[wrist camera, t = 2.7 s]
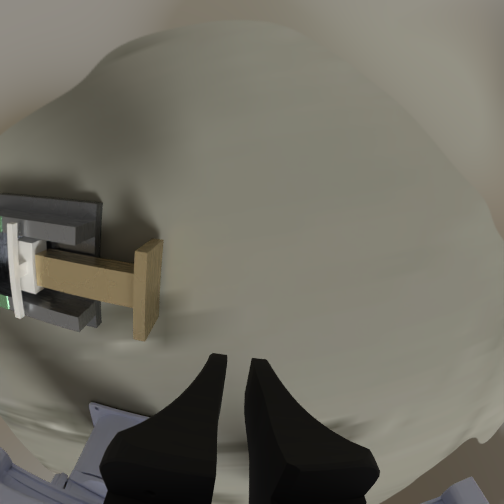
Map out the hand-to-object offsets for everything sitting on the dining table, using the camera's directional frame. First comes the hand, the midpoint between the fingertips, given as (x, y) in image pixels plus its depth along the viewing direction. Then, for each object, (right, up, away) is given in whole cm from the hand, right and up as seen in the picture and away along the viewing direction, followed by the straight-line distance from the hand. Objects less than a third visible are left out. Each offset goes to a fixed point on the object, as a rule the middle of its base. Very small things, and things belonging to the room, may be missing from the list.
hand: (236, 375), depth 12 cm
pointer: (-17, +4, +8) cm, 19 cm away
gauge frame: (-17, +5, +9) cm, 20 cm away
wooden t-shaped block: (-11, +4, +9) cm, 15 cm away
